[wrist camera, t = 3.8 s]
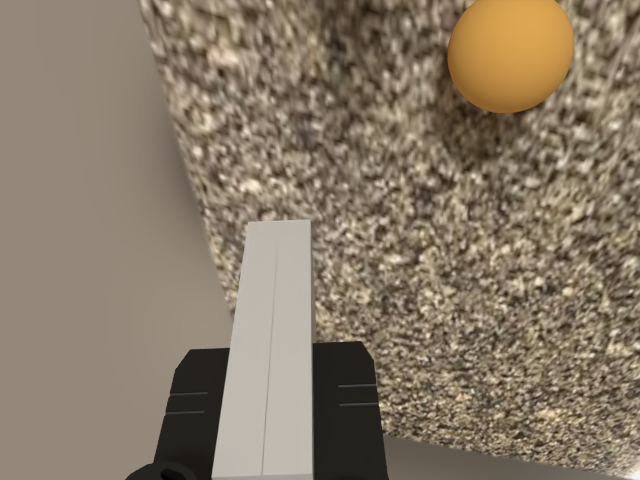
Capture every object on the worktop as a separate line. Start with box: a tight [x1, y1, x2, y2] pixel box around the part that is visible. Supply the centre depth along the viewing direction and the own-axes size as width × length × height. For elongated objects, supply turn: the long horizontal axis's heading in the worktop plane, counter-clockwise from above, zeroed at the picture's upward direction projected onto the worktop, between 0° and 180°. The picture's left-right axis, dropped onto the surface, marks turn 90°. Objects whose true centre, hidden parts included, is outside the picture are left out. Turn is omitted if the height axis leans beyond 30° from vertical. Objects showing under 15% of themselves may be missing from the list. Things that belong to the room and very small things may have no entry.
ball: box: [448, 0, 574, 113], centre depth 26 cm, size 6×6×6 cm
